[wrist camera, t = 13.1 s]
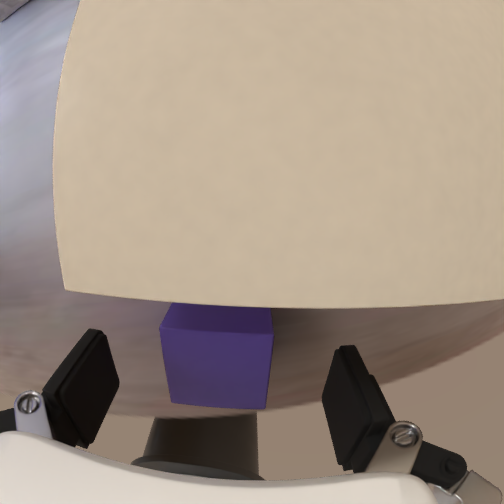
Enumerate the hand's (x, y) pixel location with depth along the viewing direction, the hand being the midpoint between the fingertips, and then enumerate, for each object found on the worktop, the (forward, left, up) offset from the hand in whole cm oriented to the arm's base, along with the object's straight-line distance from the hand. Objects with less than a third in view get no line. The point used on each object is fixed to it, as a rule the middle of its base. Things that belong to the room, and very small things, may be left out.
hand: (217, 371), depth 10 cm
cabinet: (+11, -5, -4) cm, 13 cm away
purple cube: (-1, 0, -4) cm, 4 cm away
